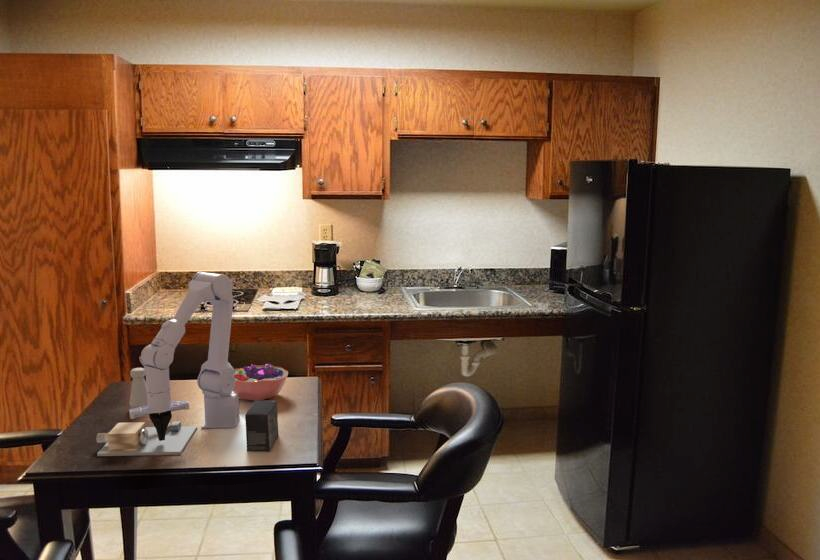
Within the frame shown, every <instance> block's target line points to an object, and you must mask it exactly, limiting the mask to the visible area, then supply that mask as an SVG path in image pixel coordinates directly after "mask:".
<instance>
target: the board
mask: <svg viewBox="0 0 820 560" xmlns="http://www.w3.org/2000/svg"><path fill="white" fill-rule="evenodd" d="M145 428H146V429H147V431H148V441H147V443H146V445H141V446H140V447H139V448H138V449H137V451H109V446H108V442H105V444H104V445H103V446H102V448H100V450H99V451H97V453H96V456H97V457H119V456H121V457H122V456H126V457H129V456H130V457H131V456H166V455H168V456H172V454H173V455H175V454H180V455H182V453H183V452H184V451H185V449H186V447H187V445H189V442H190V441H191V439H192V438H193V437H194V435H195V433H196V432H197V431H198V426H195V425H193V426H191V425H190V426H181V429H180V430H179V431H178V432H171V429H169V431H166V435H165V440H162V441H159V439H158V434H157V431H156V428H155V426H148V427H147V426H145Z"/></svg>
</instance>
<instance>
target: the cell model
mask: <svg viewBox="0 0 820 560" xmlns="http://www.w3.org/2000/svg"><path fill="white" fill-rule="evenodd" d="M288 375H289V371H288V370H286V369H284V368H283V367H281V366H274V365H272V364H271V363H266V364H265V365H263V364H262V365H255V364H251V366H247V365H244V367H240V368H234V377H235V387H234V389H233V391H232V393H237V394H238V398H239V399H240V400H245V401H246V400H247V401H254V402H255V401H265V400H268V399H272V398H274V397H275V396H277V395H278V394H279V393H280V392H281V390H282V388H283V387H284V385H285V384H286V382H287V379H288Z"/></svg>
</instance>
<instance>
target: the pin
mask: <svg viewBox="0 0 820 560" xmlns="http://www.w3.org/2000/svg"><path fill="white" fill-rule="evenodd" d="M108 433H109V432H97V434H96V437H95V438H96V443H97V444H98V443H107V442H108ZM138 436H139V437H138V440H139V444H140V445H146V443H147V441H148V431H147V429H141V430H140V432H139V434H138Z"/></svg>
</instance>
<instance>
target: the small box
mask: <svg viewBox="0 0 820 560" xmlns="http://www.w3.org/2000/svg"><path fill="white" fill-rule="evenodd" d="M244 417H245V436H246V451H247V452H268V453H269V452H271V450H272V448H273V446H274V444H275V443H276V441H277V439H278V437H279V435H280V434H279V424H278V422H279V421H278V417H279V416H278V401H277V400H275V399H274V400H268V399H264V400H261V401H254V402H253V403H252V405H251V406H250V407H249V409H248V410H247V412H245V414H244Z"/></svg>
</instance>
